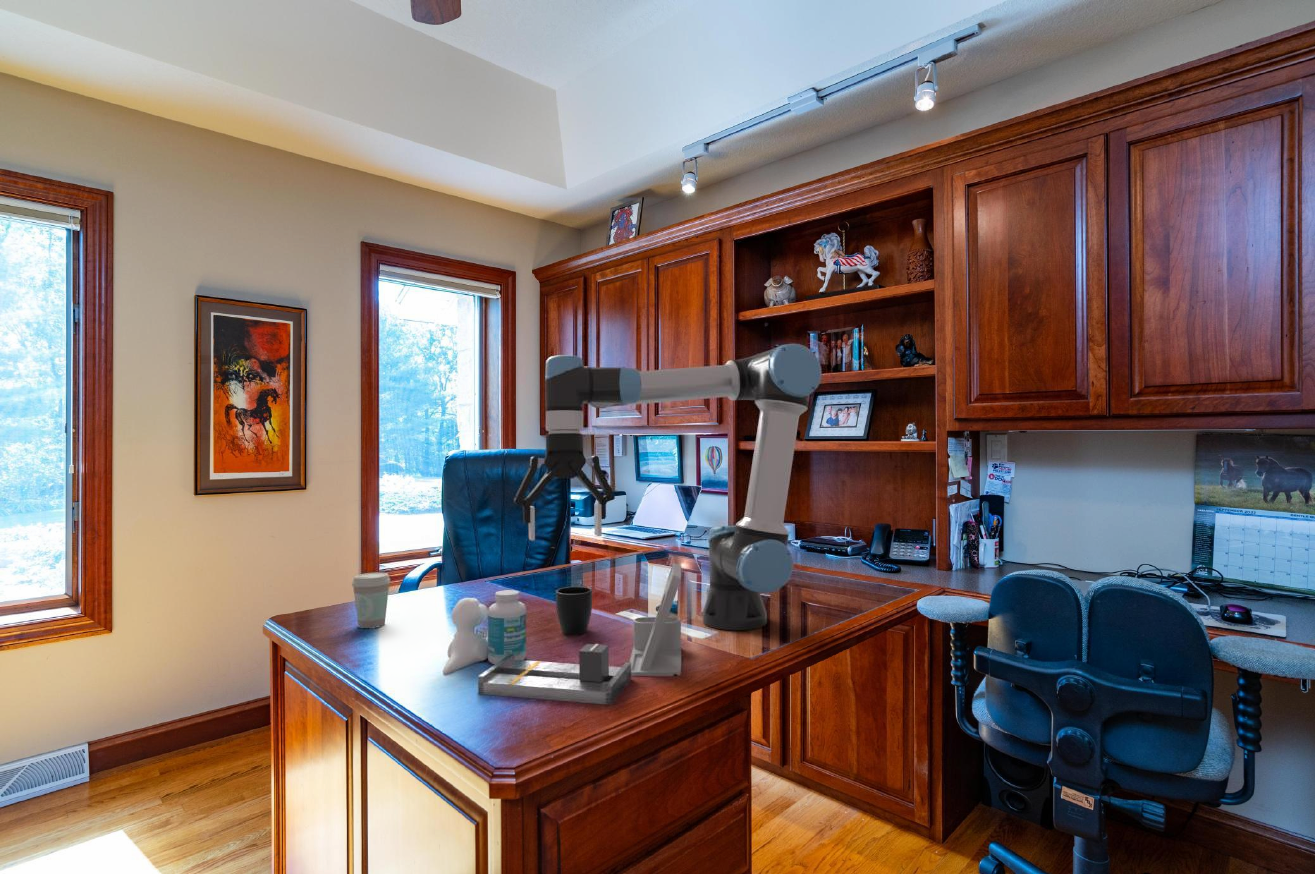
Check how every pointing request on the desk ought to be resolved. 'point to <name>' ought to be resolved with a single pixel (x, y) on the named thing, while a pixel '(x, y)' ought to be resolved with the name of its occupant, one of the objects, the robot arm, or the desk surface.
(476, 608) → the figurine
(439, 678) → the desk surface
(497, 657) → the pill bottle
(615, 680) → the console
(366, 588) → the coffee cup
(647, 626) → the phone holder
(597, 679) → the block
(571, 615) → the mug
